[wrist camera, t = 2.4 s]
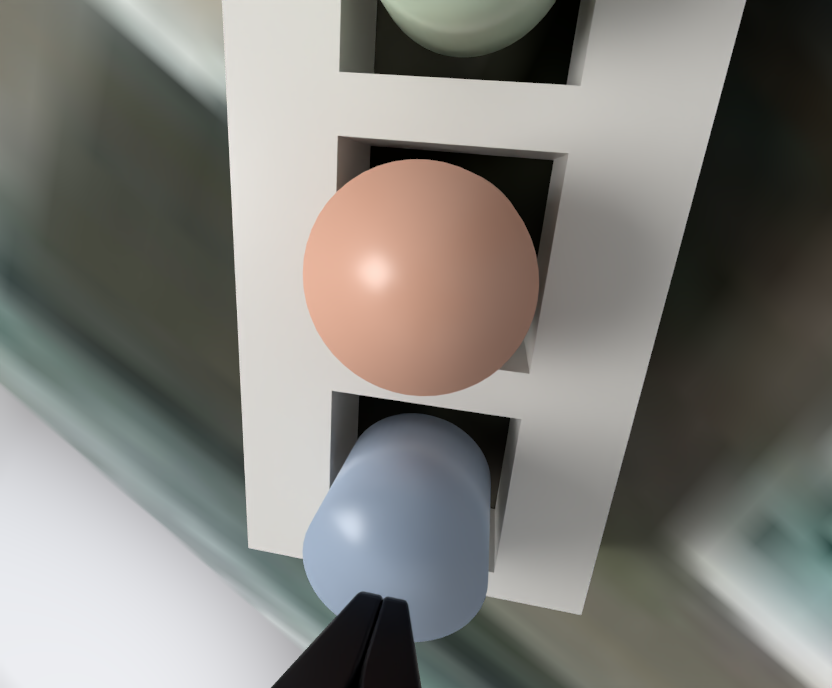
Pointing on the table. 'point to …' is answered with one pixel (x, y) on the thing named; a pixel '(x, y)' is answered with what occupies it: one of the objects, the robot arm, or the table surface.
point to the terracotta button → (421, 277)
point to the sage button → (466, 23)
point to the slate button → (406, 524)
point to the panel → (557, 257)
